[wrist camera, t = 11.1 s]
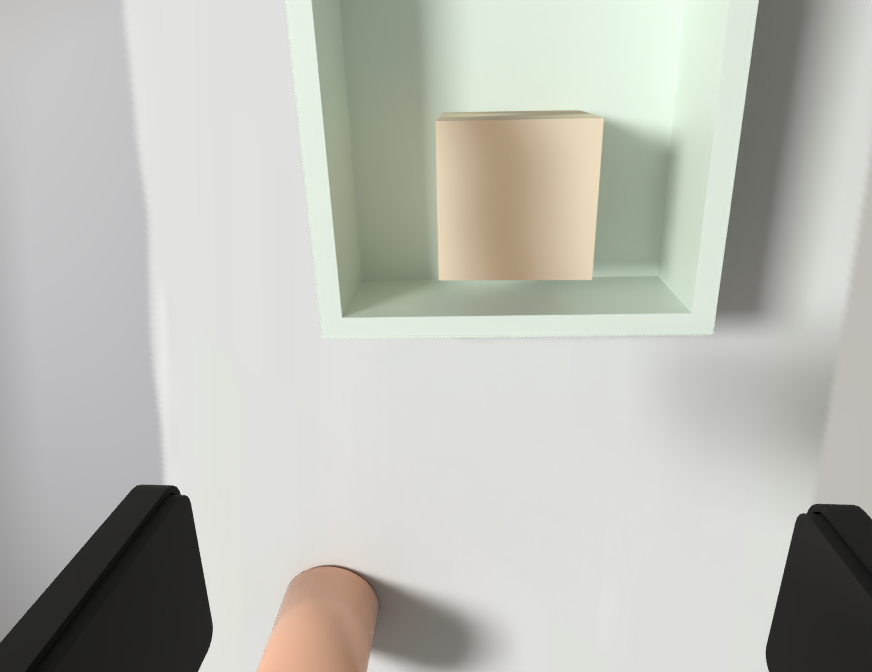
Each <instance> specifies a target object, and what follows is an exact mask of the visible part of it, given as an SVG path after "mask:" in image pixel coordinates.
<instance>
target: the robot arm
mask: <svg viewBox="0 0 872 672" xmlns="http://www.w3.org/2000/svg"><path fill="white" fill-rule="evenodd" d="M212 632H213V625H212V618H211V613H210V607H209V602H208V596H207V590H206V585H205V579H204V574H203V568H202V563H201V557H200V552H199V546H198V540H197V535H196V529H195V524H194V518H193V513H192V507H191V502H190V499H189V498H188V496H186V495H181V494H180V491H179V490H178V488H177V487H175V486H170V485H138V486H136V487H135V488H133V489H132V490H131V491H130V493H129V494H128V495H127V496H126V497H125V498H124V500H123V501H122V502H121V503H120V504H119V505H118V507H117V508H116V509H115V510H114V511H113V512H112V513H111V515H110V516H109V517H108V518H107V519H106V520H105V522H104V523H103V524H102V525H101V526H100V527H99V529H98V530H97V531H96V532H95V533H94V534H93V536H92V537H91V538H90V539H89V540H88V541H87V543H86V544H85V545H84V546H83V547H82V548H81V550H80V551H79V552H78V553H77V554H76V555H75V557H74V558H73V559H72V560H71V561H70V562H69V564H68V565H67V566H66V567H65V568H64V569H63V570H62V572H61V573H60V574H59V575H58V577H56V579H55V580H54V581H53V582H52V583H51V584H50V586H49V587H48V588H47V589H46V590H45V591H44V593H43V594H42V595H41V596H40V597H39V598H38V600H37V601H36V602H35V603H34V604H33V605H32V607H31V608H30V609H29V610H28V611H27V613H26V614H25V615H24V616H23V617H22V618H21V619H20V620H19V622H18V623H17V624H16V625H15V626H14V627H13V629H12V630H11V631H10V632H9V633H8V634H7V636H6V637H5V638H4V639H3V640H2V642H1V643H0V672H198V670H199V668H200V666H201V664H202V662H203V660H204V658H205V656H206V654H207V652H208V649H209V647H210V643H211V639H212ZM766 661H767V666H768V670H769V672H872V519H871V518H870V517H869V516H868V515H867V514H866V512H865V511H864V510H862V509H861V508H860V507H859V506H855V505H837V504H836V505H835V504H815V505H812V506H811V507H810V508H809V510H808V512H807V514H804V513H803V514H800V515H799V516H798V517H797V520H796V523H795V527H794V531H793V535H792V540H791V544H790V548H789V552H788V557H787V561H786V565H785V569H784V574H783V578H782V582H781V586H780V591H779V595H778V599H777V603H776V608H775V612H774V616H773V620H772V625H771V629H770V633H769V638H768V642H767V646H766Z"/></svg>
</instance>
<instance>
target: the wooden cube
mask: <svg viewBox="0 0 872 672" xmlns="http://www.w3.org/2000/svg"><path fill="white" fill-rule="evenodd" d="M603 124H604V118H602V117H599V116H596V115H593V114H590V113H587V112H584V111H581V110H547V111H495V112H444V113H442V114H441V116H440V117H439V118H438V119H437V120H436V170H437V219H438V268H439V280H592V274H593V261H594V247H595V233H596V220H597V206H598V192H599V179H600V165H601V151H602V138H603Z"/></svg>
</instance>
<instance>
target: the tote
mask: <svg viewBox="0 0 872 672" xmlns="http://www.w3.org/2000/svg"><path fill="white" fill-rule="evenodd" d="M758 2H759V0H285V9H286V18H287V27H288V36H289V45H290V54H291V63H292V72H293V82H294V91H295V100H296V109H297V118H298V127H299V136H300V145H301V154H302V163H303V172H304V181H305V191H306V200H307V209H308V218H309V227H310V236H311V245H312V254H313V263H314V272H315V281H316V291H317V300H318V309H319V318H320V327H321V336H322V339H381V338H472V337H563V336H654V335H713V332H714V324H715V317H716V310H717V302H718V295H719V288H720V280H721V273H722V266H723V258H724V251H725V244H726V237H727V229H728V222H729V215H730V207H731V200H732V193H733V185H734V178H735V171H736V163H737V156H738V149H739V141H740V134H741V127H742V119H743V112H744V105H745V97H746V90H747V83H748V75H749V68H750V61H751V54H752V46H753V39H754V32H755V24H756V17H757V10H758ZM547 110H581V111H584V112H587V113H590V114H593V115H596V116H599V117H602V118H604V124H603V138H602V151H601V165H600V179H599V192H598V206H597V220H596V233H595V247H594V261H593V274H592V280H439V268H438V219H437V170H436V120H437V119H438V118H439V117H440V116H441V114H442V113H444V112H495V111H547Z"/></svg>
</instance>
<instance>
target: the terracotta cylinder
mask: <svg viewBox="0 0 872 672" xmlns="http://www.w3.org/2000/svg"><path fill="white" fill-rule="evenodd" d="M377 614H378V600H377V597H376V594H375V592H374V591H373V589H372V588H371V586H370V585H369V584H368V583H367V582H366V581H365V580H364V579H362V578H361V577H360V576H358V575H357V574H355V573H353V572H350V571H348V570H345V569H342V568H337V567H316V568H312V569H308V570H306V571H304V572H302V573H300V574H299V575H297V576H296V577H295V578H294V579H293V580H292V581H291V583H290V584H289V586H288V588H287V590H286V593H285V596H284V599H283V601H282V604H281V607H280V609H279V612H278V615H277V617H276V620H275V623H274V626H273V628H272V631H271V634H270V636H269V639H268V642H267V645H266V647H265V650H264V653H263V655H262V658H261V661H260V664H259V666H258V669H257V672H367V668H368V663H369V658H370V652H371V647H372V641H373V636H374V630H375V625H376V619H377Z"/></svg>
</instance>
